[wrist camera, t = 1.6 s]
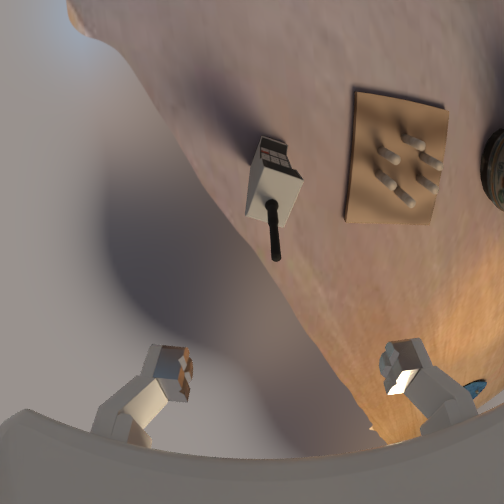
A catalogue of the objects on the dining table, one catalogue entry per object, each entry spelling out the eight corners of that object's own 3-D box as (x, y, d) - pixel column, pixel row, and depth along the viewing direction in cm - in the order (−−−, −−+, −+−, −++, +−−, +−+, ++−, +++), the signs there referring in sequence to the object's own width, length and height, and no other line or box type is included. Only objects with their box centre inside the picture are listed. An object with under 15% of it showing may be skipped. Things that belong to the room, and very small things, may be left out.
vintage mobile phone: (287, 143, 37) (324, 226, 16) (275, 175, 40) (292, 289, 19) (261, 134, 37) (264, 206, 16) (250, 167, 39) (238, 274, 18)
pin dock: (354, 91, 32) (370, 92, 27) (445, 110, 32) (468, 116, 27) (344, 219, 43) (354, 238, 38) (426, 222, 43) (443, 240, 37)
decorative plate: (442, 415, 98) (444, 423, 94) (421, 409, 89) (424, 419, 84) (490, 384, 84) (493, 392, 80) (479, 372, 75) (483, 383, 70)
